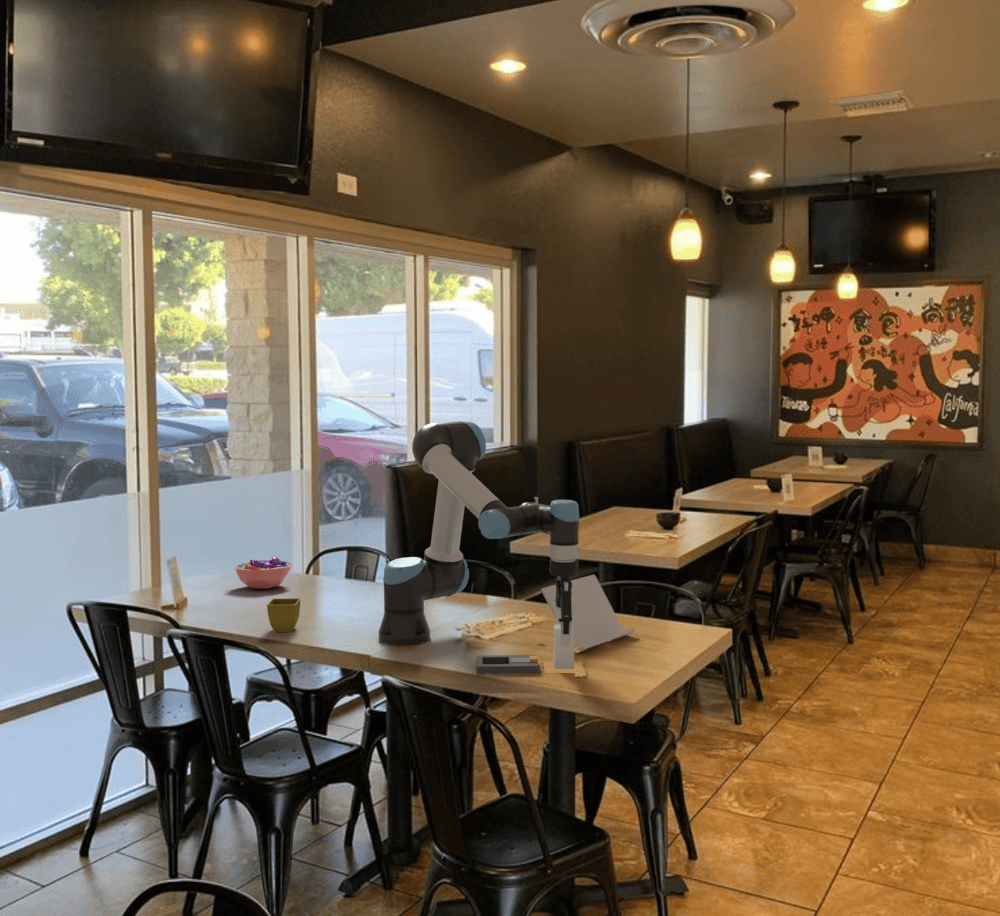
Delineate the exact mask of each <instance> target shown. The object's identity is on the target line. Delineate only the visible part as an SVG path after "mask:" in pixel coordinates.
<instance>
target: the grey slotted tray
mask: <svg viewBox="0 0 1000 916" xmlns="http://www.w3.org/2000/svg"><path fill="white" fill-rule="evenodd" d="M538 659H539V658H538V655H536V654H500V655H499V654H495V655H493V654H490V655H489V654H488V655H487V654H486V655H485V654H484V655H483V654H482V655H481V654H479V655H476V675H487V674H486V673H539V670H540V669H539V661H538Z"/></svg>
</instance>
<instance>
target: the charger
mask: <svg viewBox="0 0 1000 916" xmlns="http://www.w3.org/2000/svg"><path fill="white" fill-rule="evenodd" d="M553 636H554V646H553V661H554V663H553V664H554V667H555V669H574V661H575V653H574V627H573V625H572V624H571V646H560V625H556V624H553Z"/></svg>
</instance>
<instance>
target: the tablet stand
mask: <svg viewBox="0 0 1000 916" xmlns="http://www.w3.org/2000/svg"><path fill="white" fill-rule="evenodd" d="M571 582H572V589H571V594H572V595H571V607H572V621H571V624H572V625H573V627H574V648H577V647H580V646H582V647H580V648H579V649H577V650H580V651H582V650H585V649H588V648H591V647H594V646H596V645H599V644H602V643H604V642H607V641H609V640H613V641H615V640H614V639H616V640H618V639H617V638H619V639H621V638H620V637H622V636H625V635H628V634H629V635H631V634H634V632H636V629H635V628H630V629H627V630H624V628H623V626H622V624H621V623H620V621H619V619H618V616H617V614H616V613H615V611H614V608H613V607H612V605H611V602H610V601H609V599H608V597H607V595H606V594H605V592H604V590H603V587H602V585H601V584H600V582H599V580H598V578H597V576H596V574H591V575H587V576H584V577H579V578H575V579H573V580H571ZM541 593H542V594H543V597H544V599H545V600H546V603H547V604H548V607H549V609H550V610H551V614H552V615H553V617H554V619H555V620H556V602H555V599H556V584H553V585H549V586H546V587H543V588H542V589H541ZM629 635H628V636H629ZM625 637H626V636H625ZM622 638H623V637H622ZM585 644H586V645H585ZM583 645H584V646H583ZM602 645H603V644H602ZM599 646H600V645H599ZM596 647H597V646H596ZM594 648H595V647H594ZM591 649H592V648H591ZM588 650H589V649H588ZM585 651H586V650H585ZM582 652H583V651H582Z"/></svg>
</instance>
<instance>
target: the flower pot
mask: <svg viewBox="0 0 1000 916" xmlns="http://www.w3.org/2000/svg"><path fill="white" fill-rule="evenodd" d="M266 609H267V615H268V621H269V623H270V627H271V629H272V630H273V631H274V632H275V633H290V632H291V633H292V632H293V631H294V629H295V627H296V625H297V624H298V620H299V617H300V609H301V598H297V597H295V598H293V597H292V598H290V597H289V598H272V599H270V601H269V602H268V603H267V604H266Z"/></svg>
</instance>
